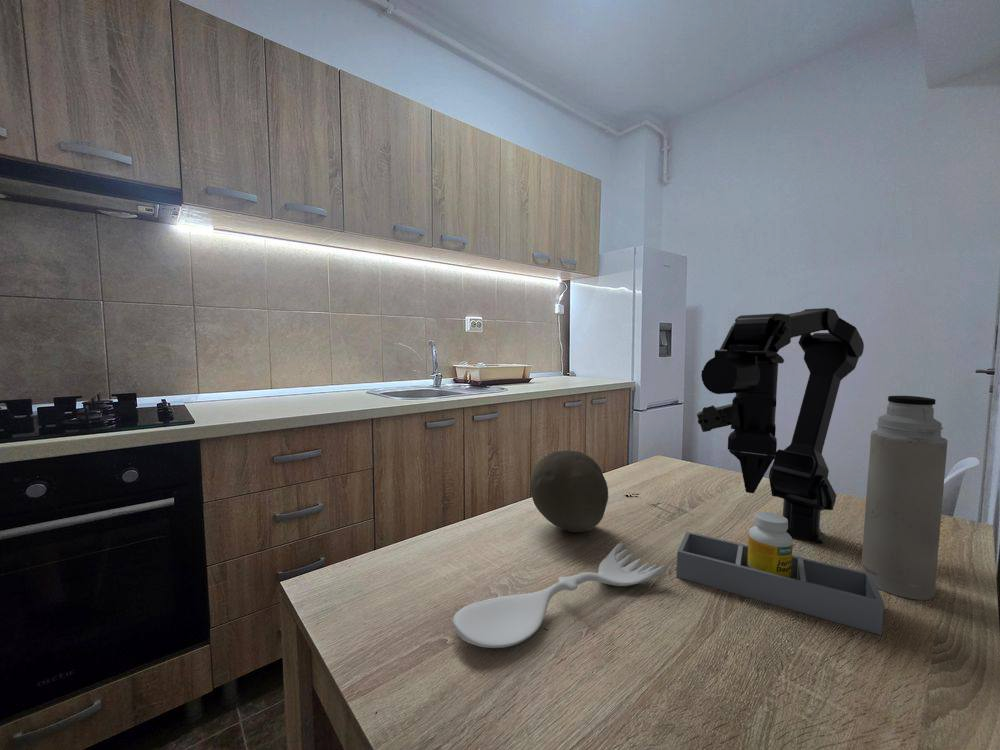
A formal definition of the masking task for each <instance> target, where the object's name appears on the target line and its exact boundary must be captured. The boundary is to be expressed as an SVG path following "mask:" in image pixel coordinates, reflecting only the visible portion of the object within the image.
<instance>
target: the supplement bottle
mask: <svg viewBox="0 0 1000 750" xmlns="http://www.w3.org/2000/svg"><path fill="white" fill-rule="evenodd" d="M754 524H755V525H754V526H752V527H750V529H749V530H748V542H747V543H748V544H747V545H748V561H747V567H749V568H753V569H757V570H761V571H765V572H769V573H773V574H777V575H781V576H785V577H789V578H791V566H792V565H791V564H792V556H793V548H794V547H793V543H794V541H793V537H791V536H790V535H789V534H788V533H787V532H786V531H787V529H788V520H787V518H785V517H783V515H780V514H777V513H773V512H767V511H759V512H755V514H754Z"/></svg>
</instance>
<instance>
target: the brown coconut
mask: <svg viewBox="0 0 1000 750" xmlns="http://www.w3.org/2000/svg"><path fill="white" fill-rule="evenodd" d="M529 490H530V494H531V498H532V501H533V504H534V506H535V508H536V509H537V511H538V512H539V513H540V514H541V515H542V517H543V518H545V520H547V521H548V522H549V523H551V524H552V525H554V526H555V527H557V528H559V529H562V530H565V531H568V532H573V533H583V532H587V531H590V530H591V529H593V528H595V527H597V525H598V524H600V523H601V521H602V519H603V518H604V515H605V511H606V509H607V505H608V501H609V488H608V483H607V481H606V478H605V476H604V474H603V472H602V469H601V467H600V465H599V464H598V463H597V462H596V461H595V459H593V458H592V457H590V456H589V455H587V454H585V453H583V452H581V451H578V450H577V451H576V450H559V451H552V452H550V453H548V454H547V455H545V456H543V458H540V460H539V461H538V462H537V463H536V465H535V467H534V468H533V470H532V472H531V475H530V479H529Z"/></svg>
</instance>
